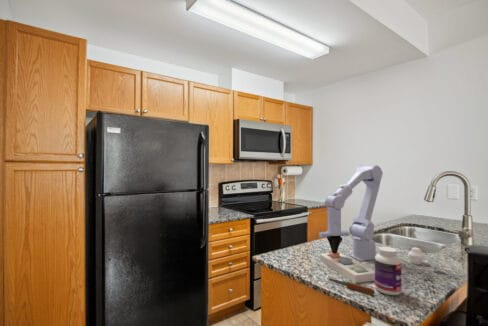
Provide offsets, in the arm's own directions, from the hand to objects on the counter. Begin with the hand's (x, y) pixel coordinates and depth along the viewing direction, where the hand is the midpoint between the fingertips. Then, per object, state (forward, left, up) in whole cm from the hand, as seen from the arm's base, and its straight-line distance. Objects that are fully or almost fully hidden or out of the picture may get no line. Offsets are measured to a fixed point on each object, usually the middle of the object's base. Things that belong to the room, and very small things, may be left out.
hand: (334, 252), depth 115 cm
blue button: (0, +8, -2) cm, 8 cm away
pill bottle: (-2, +28, -5) cm, 28 cm away
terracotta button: (0, 0, -2) cm, 2 cm away
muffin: (-35, +10, -5) cm, 37 cm away
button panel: (0, +8, -4) cm, 9 cm away
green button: (0, +16, -3) cm, 16 cm away
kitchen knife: (+9, +23, -5) cm, 25 cm away
